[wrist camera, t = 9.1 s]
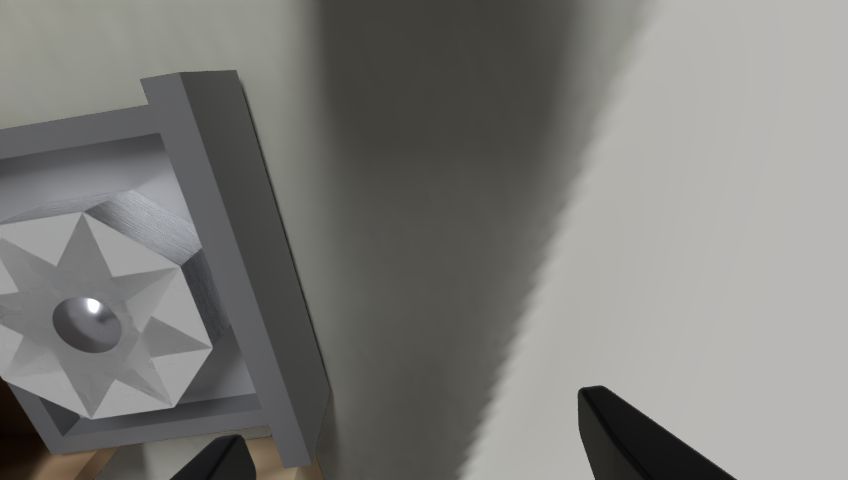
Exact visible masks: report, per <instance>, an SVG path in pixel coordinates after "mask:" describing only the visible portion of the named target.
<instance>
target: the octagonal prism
mask: <svg viewBox="0 0 848 480" xmlns="http://www.w3.org/2000/svg"><path fill="white" fill-rule="evenodd" d="M230 324H231V323H230V321H229V318H228V315H227V313H226V310H225V307H224V305H223V302H222V299H221V297H220V294H219V291H218V288H217V286H216V283H215V280H214V278H213V275H212V272H211V270H210V267H209V264H208V262H207V259H206V256H205V253H204V251H203V248H202V245H201V243H200V240H199V237H198V235H197V232H196V229H195V227H194V225H193V224H192V223H190V222H188V221H186V220H185V219H183V218H181V217H180V216H178V215H176V214H175V213H173V212H171V211H169V210H168V209H166V208H164V207H163V206H161V205H159V204H157V203H156V202H154V201H152V200H151V199H149V198H147V197H146V196H144V195H142V194H140V193H139V192H137V191H135V190H134V189H130V190H124V191H118V192H112V193H106V194H100V195H94V196H87V197H81V198H75V199H69V200H63V201H57V202H51V203H47V204H44V205H42V206H39V207H36V208H34V209H31V210H29V211H26V212H23V213H21V214H18V215H16V216H13V217H10V218H8V219H5V220H3V221H0V376H1V377H2V379H3V380H5V381H7V382H9V383H11V384H14V385H16V386H18V387H20V388H22V389H25V390H27V391H29V392H31V393H34V394H36V395H38V396H40V397H42V398H45V399H47V400H49V401H51V402H54V403H56V404H58V405H60V406H62V407H65V408H67V409H69V410H71V411H74V412H76V413H78V414H80V415H82V416H85V417H87V418H89V419H98V418H105V417H112V416H119V415H126V414H133V413H139V412H146V411H153V410H160V409H167V408H174V407H175V405H176V404H177V403H178V401H179V400H180V398H181V397H182V395H183V394H184V392H185V391H186V390H187V388H188V387H189V385H190V384H191V382H192V381H193V379H194V378H195V377H196V375H197V374H198V372H199V371H200V369H201V368H202V366H203V365H204V364H205V362H206V361H207V359H208V358H209V356H210V354H211V353H212V351H213V350H214V348H215V347H216V345H217V344H218V342H219V341H220V339H221V338H222V336H223V335H224V333H225V332H226V330H227V329H228V327H229V326H230Z"/></svg>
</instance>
